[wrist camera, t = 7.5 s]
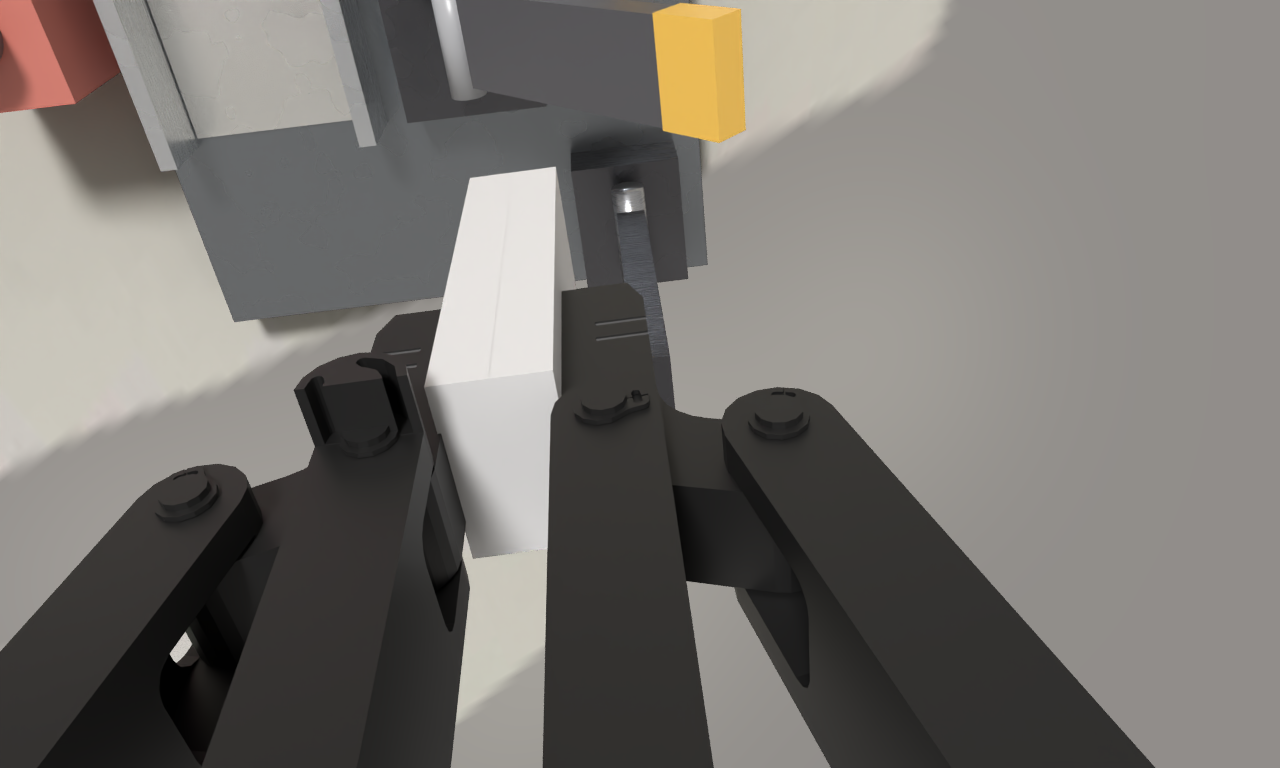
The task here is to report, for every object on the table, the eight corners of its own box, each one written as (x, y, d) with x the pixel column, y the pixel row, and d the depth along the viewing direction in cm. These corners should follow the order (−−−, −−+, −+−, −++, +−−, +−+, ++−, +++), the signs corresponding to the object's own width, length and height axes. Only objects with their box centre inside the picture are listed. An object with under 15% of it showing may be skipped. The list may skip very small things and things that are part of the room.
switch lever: (444, 98, 32) (719, 160, 25) (417, -28, 30) (709, 0, 23) (472, 87, 33) (747, 145, 26) (447, -36, 31) (741, -11, 24)
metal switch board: (247, 299, 42) (97, 554, 28) (83, -141, 32) (-258, -70, 19) (702, 244, 42) (766, 473, 28) (669, -213, 32) (742, -192, 19)
